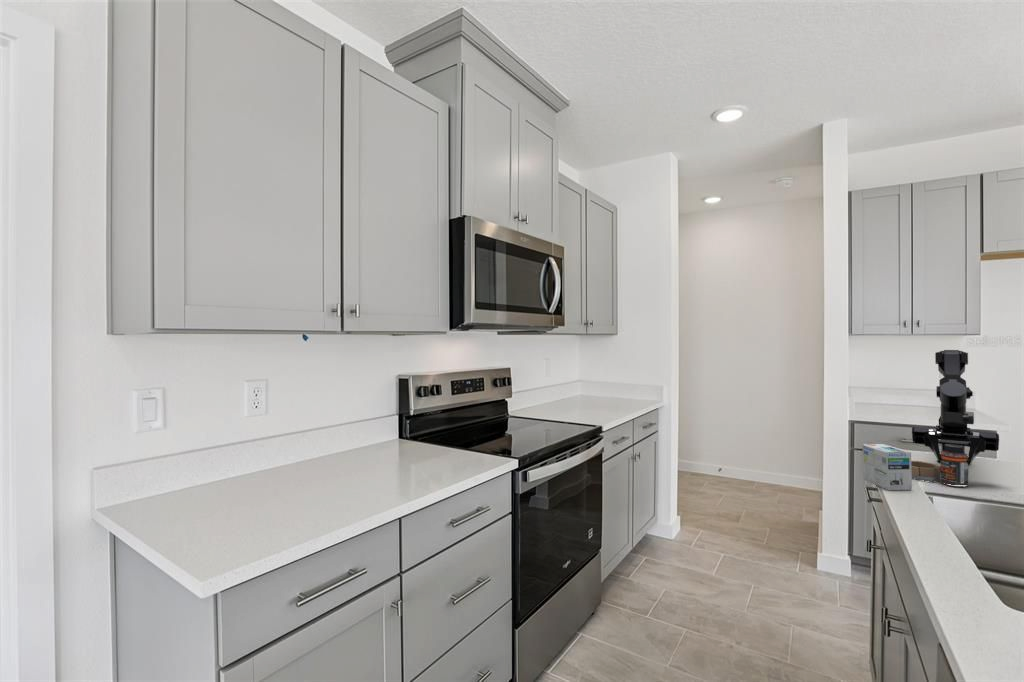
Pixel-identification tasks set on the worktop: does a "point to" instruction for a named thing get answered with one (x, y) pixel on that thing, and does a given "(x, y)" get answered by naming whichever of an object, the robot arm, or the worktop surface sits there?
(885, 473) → the light bulb box
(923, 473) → the bottle socket
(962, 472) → the supplement bottle
